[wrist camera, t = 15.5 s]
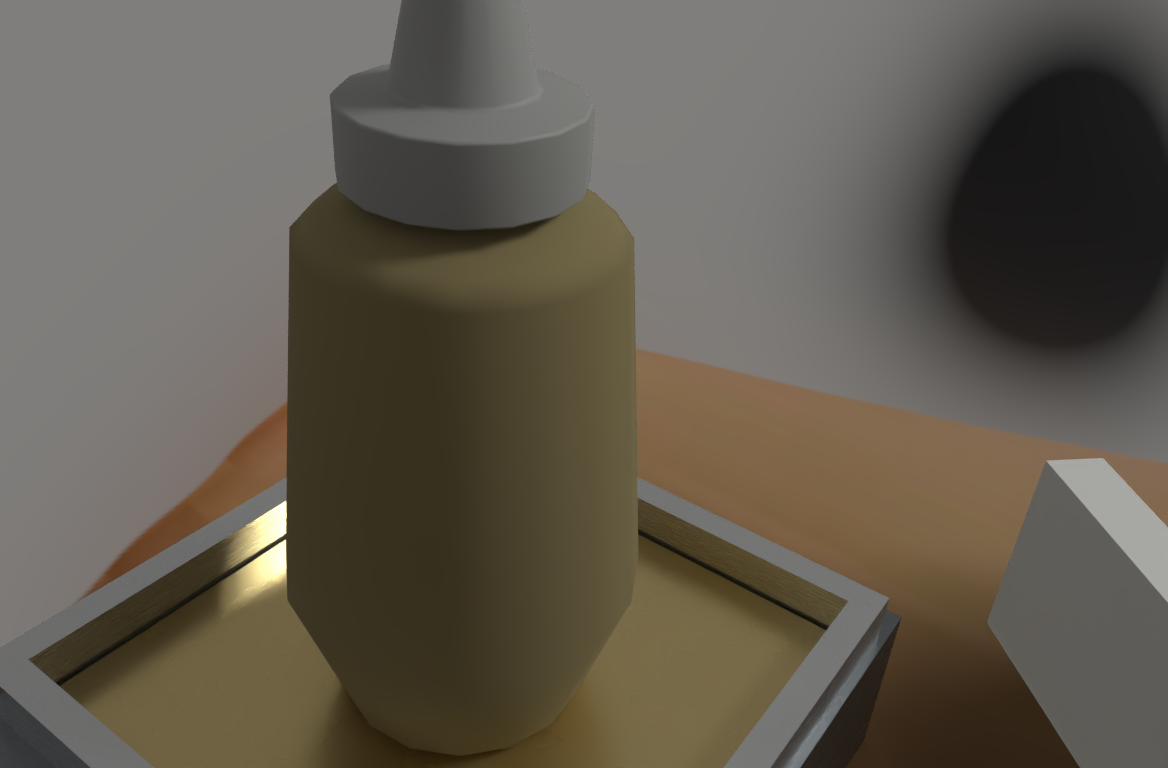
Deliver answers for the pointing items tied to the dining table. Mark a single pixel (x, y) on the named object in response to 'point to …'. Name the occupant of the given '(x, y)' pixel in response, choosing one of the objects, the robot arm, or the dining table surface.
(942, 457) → the dining table surface
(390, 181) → the squeeze bottle
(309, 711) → the square box
